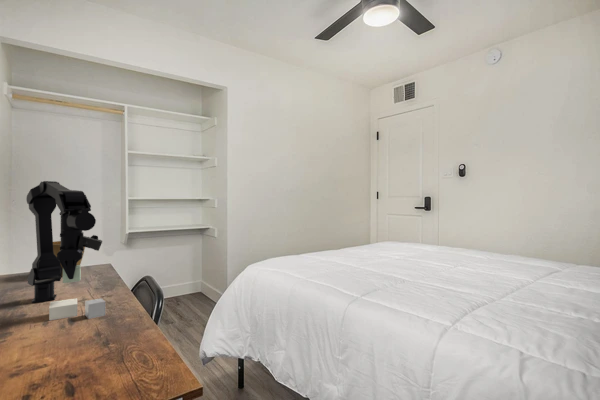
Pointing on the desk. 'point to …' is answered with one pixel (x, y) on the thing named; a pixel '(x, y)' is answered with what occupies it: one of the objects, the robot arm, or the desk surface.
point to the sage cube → (76, 275)
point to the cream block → (63, 309)
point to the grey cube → (94, 308)
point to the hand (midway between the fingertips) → (71, 277)
